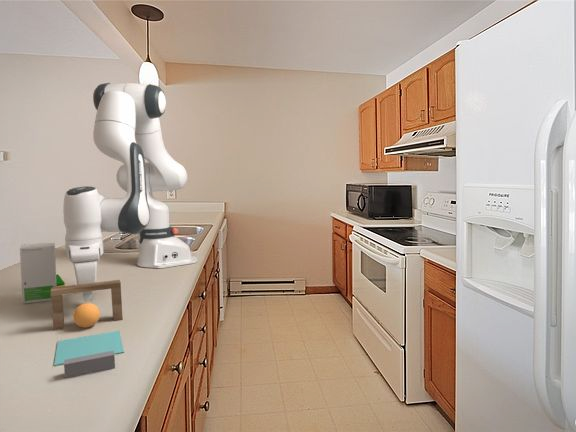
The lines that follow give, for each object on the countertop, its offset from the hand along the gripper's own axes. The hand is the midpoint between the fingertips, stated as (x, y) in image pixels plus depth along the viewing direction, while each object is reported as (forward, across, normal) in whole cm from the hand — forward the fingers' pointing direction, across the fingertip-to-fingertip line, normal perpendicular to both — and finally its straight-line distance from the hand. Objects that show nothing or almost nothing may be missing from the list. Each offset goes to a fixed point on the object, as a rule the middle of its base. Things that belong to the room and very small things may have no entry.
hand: (88, 299), depth 108 cm
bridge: (+2, +14, 0) cm, 14 cm away
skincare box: (+2, -13, -12) cm, 18 cm away
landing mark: (+2, +29, 0) cm, 29 cm away
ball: (-1, +16, 0) cm, 16 cm away
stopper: (+2, +40, 0) cm, 40 cm away
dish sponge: (+2, -27, -11) cm, 29 cm away
